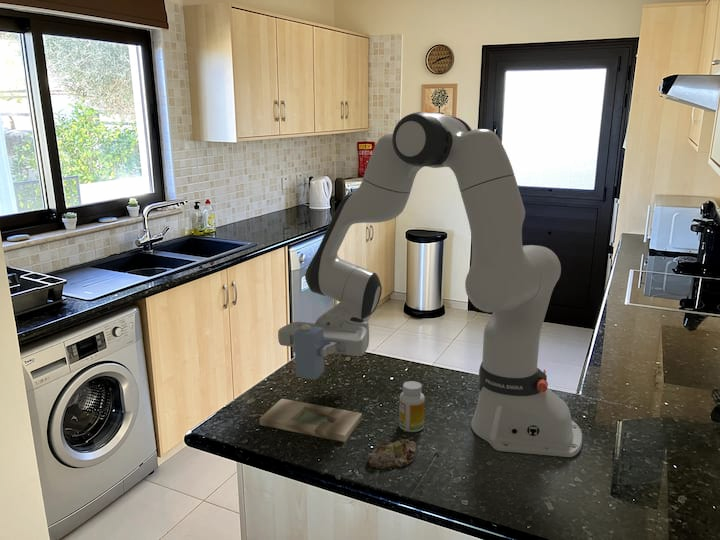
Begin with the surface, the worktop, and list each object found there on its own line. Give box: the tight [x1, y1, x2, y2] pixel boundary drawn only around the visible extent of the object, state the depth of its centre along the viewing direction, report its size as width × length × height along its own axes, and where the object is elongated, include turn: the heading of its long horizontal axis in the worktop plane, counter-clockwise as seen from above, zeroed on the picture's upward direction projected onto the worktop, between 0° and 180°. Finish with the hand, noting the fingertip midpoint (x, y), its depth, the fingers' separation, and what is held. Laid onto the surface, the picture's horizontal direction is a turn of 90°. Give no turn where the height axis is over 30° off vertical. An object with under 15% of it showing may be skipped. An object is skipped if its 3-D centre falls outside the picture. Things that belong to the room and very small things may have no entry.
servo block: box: [294, 324, 325, 381], centre depth 123 cm, size 4×4×11 cm
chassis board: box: [258, 398, 363, 443], centre depth 127 cm, size 20×10×2 cm, turn 69°
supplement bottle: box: [398, 380, 426, 433], centre depth 124 cm, size 5×5×10 cm
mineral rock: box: [366, 438, 417, 469], centre depth 114 cm, size 11×4×8 cm
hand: (307, 351), depth 122 cm, fingers closed on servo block, 4 cm apart
